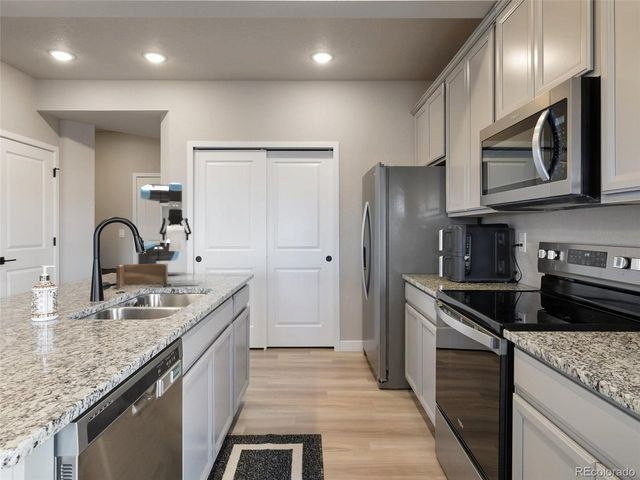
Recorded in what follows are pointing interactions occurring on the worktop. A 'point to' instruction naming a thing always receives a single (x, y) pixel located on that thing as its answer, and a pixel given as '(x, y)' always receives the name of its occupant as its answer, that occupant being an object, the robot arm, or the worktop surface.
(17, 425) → the worktop surface
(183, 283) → the mat
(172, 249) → the cup
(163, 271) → the crate
